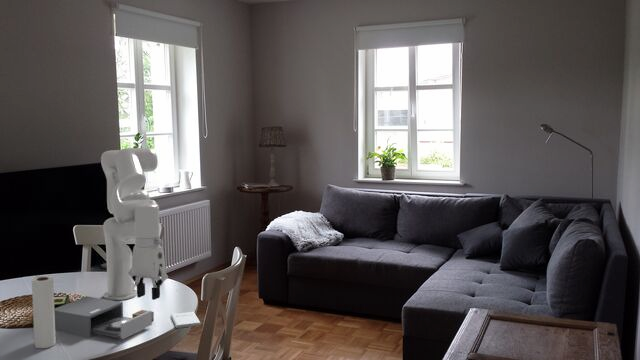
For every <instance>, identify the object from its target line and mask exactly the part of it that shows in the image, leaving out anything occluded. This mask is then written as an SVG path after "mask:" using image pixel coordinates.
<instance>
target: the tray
mask: <svg viewBox="0 0 640 360" xmlns="http://www.w3.org/2000/svg"><path fill="white" fill-rule="evenodd" d="M146 311H147V312H145V313H143V314H141V315H138V316H136V317H134V318H132V317H129V318H130V320H128V321H126V322H123V323H121V330H111V329H110V328H109V321H110V320H112V319H115V318H128V317H126V316H123V317H121V316H120V317H113V316H111V317H109V318H107V319H105V320H102V321H100V322H98V323H96V324H93V325H91V333H96V335H103V336H106V337H107V336H108V337H113V338H119V339H122V340H125V339H126V338H128V337H130V336H132V335H134V334H136V333H139V332H140V331H142V330H145V329H146V328H148V327H150V326H152V324H153V322H152V312H153V311H152V310H146Z"/></svg>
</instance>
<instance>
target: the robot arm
mask: <svg viewBox="0 0 640 360" xmlns="http://www.w3.org/2000/svg"><path fill="white" fill-rule="evenodd" d="M100 162H101V163H100V164H101V168H102V170H103V172H104V175H105V178H106V203H107V204H106V205H107V210H108V212H109V213H110V214H112V215H113V217H110V218H107V219H106V220H104V222H103V225H102V228H103V230H102V231H103V235H104V242H105V249H106V250H105V251H106V252H105V253H106V277H107V279H106V280H107V281H106V283H107V291H105V292H104V293H103V299H106V300H112V301H123V300H130V299H132V298H134V297H136V296H137V298H141V297H144V296H145V295H146V283H145V282H144V280H145V279H150V281H151V283H152V288H151V300H153V301H156V300H157V299H159V298H160V297H161V287H162V285H163V283H164V282H165V281H166V280H168V279H169V276H168V274H167V272H166V262H165V261H166V259H165V255H164V249H163V246H162V245H161V244H162V243H163V240H162V239H160V206H159V204H158V203H157V201H155V200H154V199H150V195H149V193H148V191H147V190H146V189H142V188H144V186H145V185H146V183H147V178H146V175H145V174H146V173H148V172H154V171H155V170H156V169H157V168H158V163H159V161H158V156H157V153H156V151H155V150H154V149H153V148H151V147H127V148H121V149H117V150H115V149H112V150H106V151H104V152H103V153H102V154H101V157H100ZM128 241H134V246H133V248H132V249H133V250H132V249H131V248H130V246H129V245H127V244H126V242H128ZM135 288H136V289H135Z"/></svg>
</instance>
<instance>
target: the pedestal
mask: <svg viewBox="0 0 640 360" xmlns="http://www.w3.org/2000/svg"><path fill="white" fill-rule="evenodd" d="M147 311H148V310H144V309H141V310H138V311H136V312H134V313H132V315H131V316H132V317H131V318H134V317H136V316H138V315H141V314H143V313H145V312H147ZM154 313H155V312H154V311H152V323H154V322H155V317H154V316H155V314H154ZM153 321H154V322H153Z"/></svg>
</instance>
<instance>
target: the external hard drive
mask: <svg viewBox="0 0 640 360" xmlns="http://www.w3.org/2000/svg"><path fill="white" fill-rule="evenodd" d="M171 316H172V317H171ZM170 317H171V319H172V318H173V319H172V322H173V321H174V322H173V324H174V323H175V324H174V325H176V326H175V327H176V328H175V329H180V328H181V329H182V328H189V327H197V326H201V321H200V320H199V318H198V316H197V314H196V313H195V311H187V312H178V313H171V314H170Z"/></svg>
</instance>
